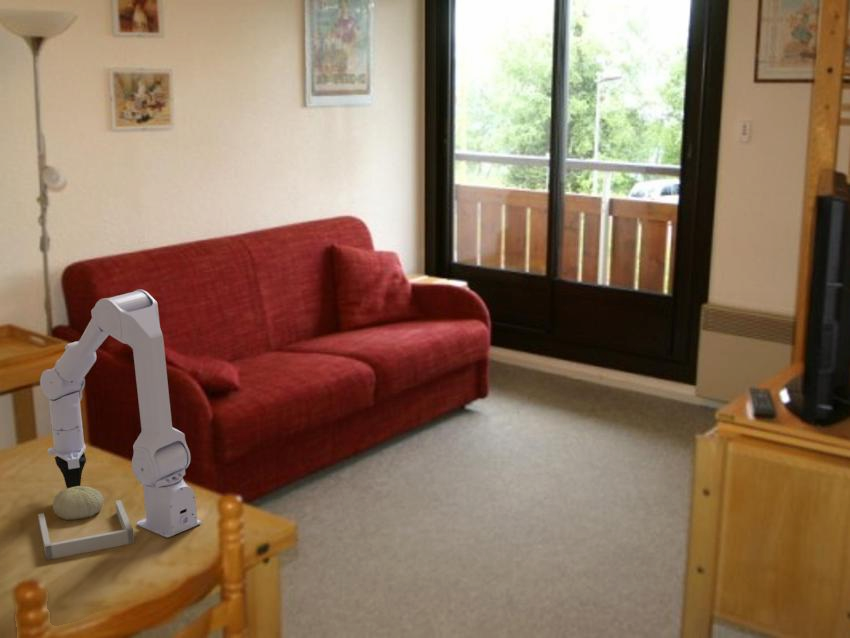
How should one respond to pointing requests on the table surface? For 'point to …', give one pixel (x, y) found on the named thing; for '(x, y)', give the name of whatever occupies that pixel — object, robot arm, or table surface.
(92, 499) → the sea urchin shell
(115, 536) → the grey u-shaped bracket
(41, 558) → the table surface
